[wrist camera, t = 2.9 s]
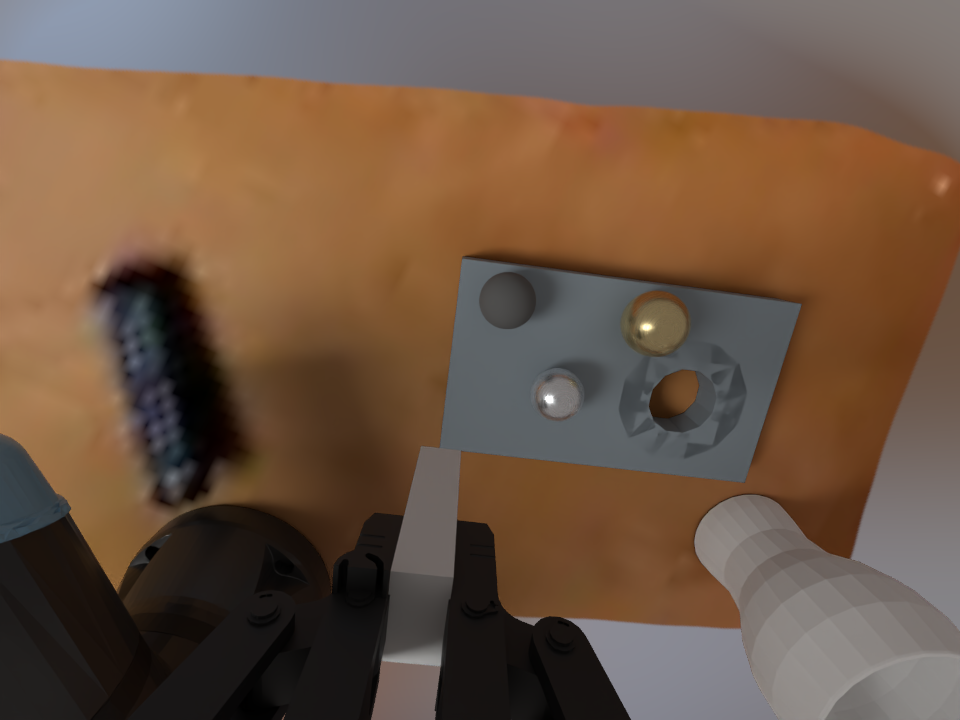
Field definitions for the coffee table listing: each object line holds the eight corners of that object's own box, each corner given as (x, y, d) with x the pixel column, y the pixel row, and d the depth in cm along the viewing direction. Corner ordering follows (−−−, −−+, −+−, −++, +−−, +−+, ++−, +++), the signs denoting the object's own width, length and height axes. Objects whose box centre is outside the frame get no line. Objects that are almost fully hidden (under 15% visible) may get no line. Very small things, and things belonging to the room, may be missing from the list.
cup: (746, 452, 36) (934, 605, 21) (834, 526, 37) (1063, 713, 23) (648, 545, 38) (759, 742, 23) (737, 611, 40) (890, 830, 25)
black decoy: (475, 319, 30) (475, 330, 27) (482, 266, 29) (483, 270, 26) (527, 326, 30) (534, 338, 27) (536, 273, 29) (544, 279, 26)
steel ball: (523, 406, 31) (529, 427, 28) (531, 358, 31) (538, 374, 27) (572, 412, 32) (584, 433, 28) (582, 364, 31) (595, 381, 27)
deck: (441, 433, 35) (439, 448, 32) (462, 256, 31) (462, 258, 29) (726, 465, 36) (744, 482, 33) (777, 298, 32) (801, 304, 30)
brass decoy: (606, 343, 30) (625, 360, 27) (619, 282, 29) (641, 291, 25) (665, 351, 31) (693, 369, 27) (680, 291, 30) (712, 300, 26)
